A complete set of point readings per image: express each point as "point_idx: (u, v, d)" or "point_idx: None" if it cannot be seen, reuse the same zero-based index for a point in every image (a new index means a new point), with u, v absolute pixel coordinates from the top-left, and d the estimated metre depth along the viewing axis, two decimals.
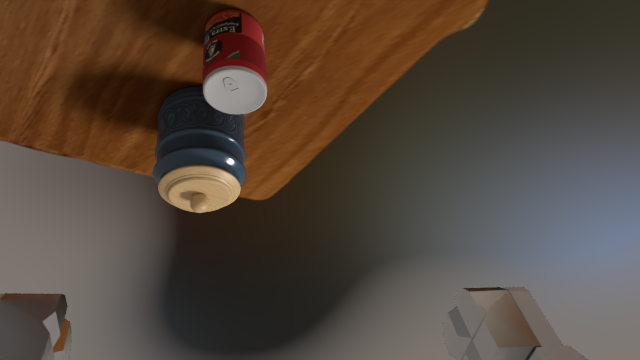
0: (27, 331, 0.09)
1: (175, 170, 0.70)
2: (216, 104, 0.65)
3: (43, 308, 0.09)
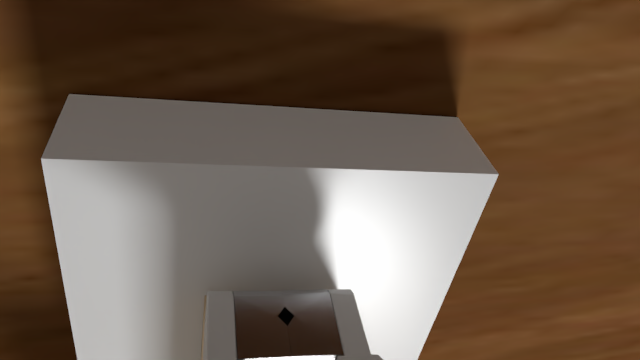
0: (268, 324, 0.10)
1: None
2: None
3: (274, 304, 0.10)
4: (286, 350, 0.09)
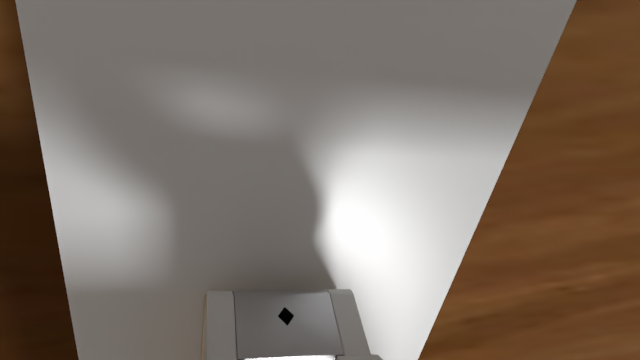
0: (268, 324, 0.10)
1: None
2: None
3: (274, 304, 0.10)
4: (285, 350, 0.09)
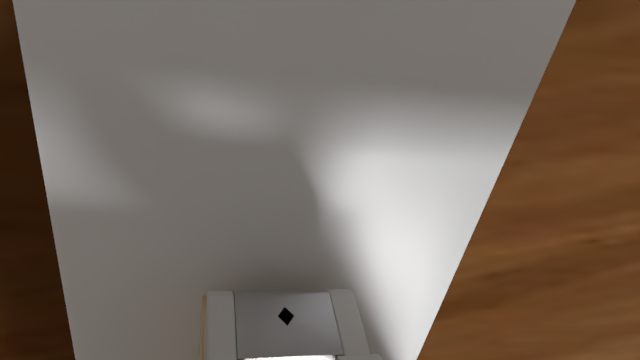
0: (268, 324, 0.10)
1: None
2: None
3: (274, 304, 0.10)
4: (286, 350, 0.09)
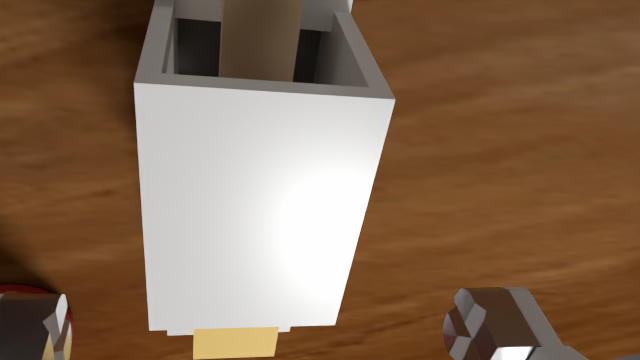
0: (27, 331, 0.09)
1: None
2: None
3: (43, 308, 0.09)
4: None
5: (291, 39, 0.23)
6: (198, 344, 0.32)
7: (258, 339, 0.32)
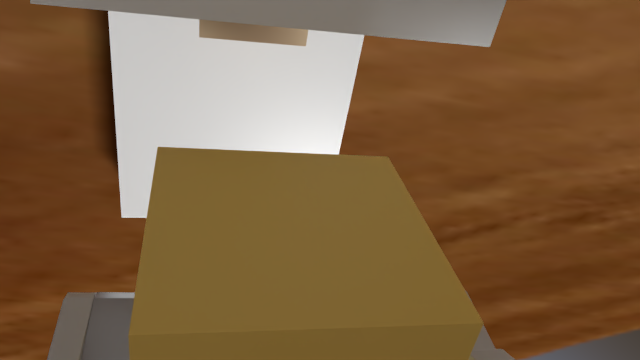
0: (124, 328, 0.09)
1: None
2: None
3: None
4: None
5: None
6: None
7: None
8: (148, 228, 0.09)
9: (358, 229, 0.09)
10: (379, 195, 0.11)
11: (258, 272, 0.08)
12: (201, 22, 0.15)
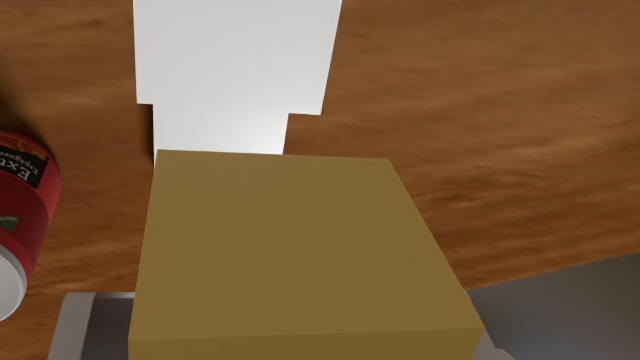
0: (124, 328, 0.09)
1: None
2: None
3: None
4: None
5: None
6: None
7: None
8: (147, 232, 0.09)
9: (359, 232, 0.09)
10: (380, 198, 0.10)
11: (259, 276, 0.08)
12: None
